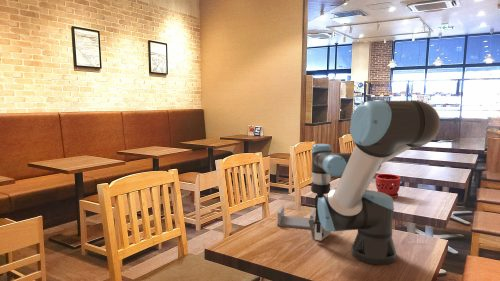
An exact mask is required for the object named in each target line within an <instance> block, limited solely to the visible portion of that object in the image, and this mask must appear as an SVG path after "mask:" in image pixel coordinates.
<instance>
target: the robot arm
mask: <svg viewBox="0 0 500 281" xmlns="http://www.w3.org/2000/svg"><path fill="white" fill-rule="evenodd" d="M350 123H351V124H350V126H349V132H350V136H351V139H352V142H353V144H354V147H353V149H352V152H343V153H342V152H339V153H334V152H332V145H331V144H328V143H315V144H313V145H312V148H311V173H310V174H309V176H310V177H311V184H310V191H311V193H313V194H315V197H314V202H315V203H314V204H315V205H314V208H315V222H313V224H315V239H314V240H315V241H318V240H322V227H323V229H324V230H326V231H330V232H342V231H343V232H345V231H354V230H355V231H356V230H357V233H356V236H355V238H354V241H353V243H352V246H351V254H352V256H353V257H354V258H356V259H357V260H358V261H360V262H364V263H365V264H371V265H376V266H377V265H380V266H382V265H383V266H385V265H386V266H387V265H390V264H393V263H394V262H396V260H397V250H396V247H395V242H394V239H393V221H394V211H395V208H394V207H395V204H394V198H392V197H391V196H389V195H387V194H385V193H381V192H377V191H378V190H370V189H368V188H369V186H370V184H371V183H372V181H373V179H374V177H376V174H377V172H379V171H380V169H381V168H382V165H383V164H385V163H387V162H388V161H390V160H392V159H393V158H395V157H398V156H400V155H401V154H402V153H405V152H406V151H409V150H410V149H411V148H412V149H418V148H419V149H420V148H421V147H423V146H425V145H427V144H429V143H430V142H432V141H433V140H434V139H435V138H436V137H437V136H438V134H439V132H440V128H441V119H440V115H439V113H438V112H437V110H436V109H435V108H434V107H433V106H432V105H431V104H428V103H426V101H425V102H424V101H421V100H413V99H412V100H382V99H374V100H368V101H363V102H361V103H360V104H359V105H357V107H356V108H355V110H354V111H353V113H352V115H351V118H350ZM331 176H333V177H340V176H341V177H340V179H339V181H338V184H337V186H335V187H334V188H333V189H331V182H332V180H331V179H332V178H331ZM326 194H328V195H327V197H326ZM322 241H323V240H322Z"/></svg>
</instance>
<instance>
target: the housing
mask: <svg viewBox="0 0 500 281" xmlns="http://www.w3.org/2000/svg"><path fill="white" fill-rule="evenodd" d="M315 215H316V207H311V211H310V214H309V217H301V216H292V215H291V216H290V215H285V205H281V206H280V208H279V210H278V211H277V227H287V228H294V229H295V228H298V229H308V230H311V229H310V225H309V220H310V219H312V218H313V217H315Z"/></svg>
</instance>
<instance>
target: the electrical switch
mask: <svg viewBox="0 0 500 281" xmlns="http://www.w3.org/2000/svg"><path fill="white" fill-rule="evenodd" d="M313 222H315V217H313V218H312V219H310V220H309V225H310V229H309V230H310V232H311V237H312V240H315V224H313ZM330 235H331V231H326V230H324V229H323V227H322V240H317V241H318V242H322V241H324V240H325V239H326V238H327V237H329V236H330Z"/></svg>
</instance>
